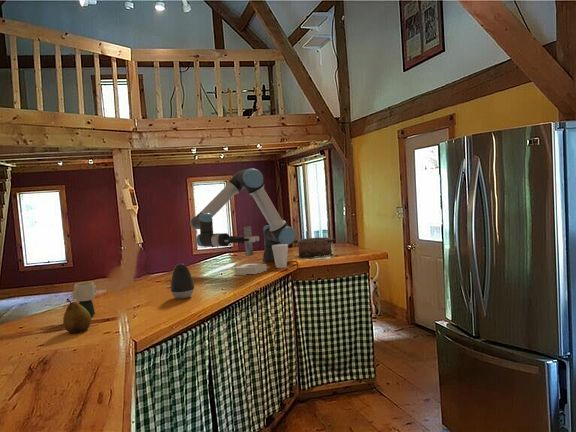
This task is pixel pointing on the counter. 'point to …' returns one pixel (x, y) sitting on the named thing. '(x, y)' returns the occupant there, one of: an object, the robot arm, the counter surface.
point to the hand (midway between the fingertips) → (256, 239)
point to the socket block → (250, 269)
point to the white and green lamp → (85, 295)
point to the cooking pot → (314, 246)
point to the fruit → (76, 318)
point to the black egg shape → (181, 282)
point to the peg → (248, 244)
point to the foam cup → (280, 255)
